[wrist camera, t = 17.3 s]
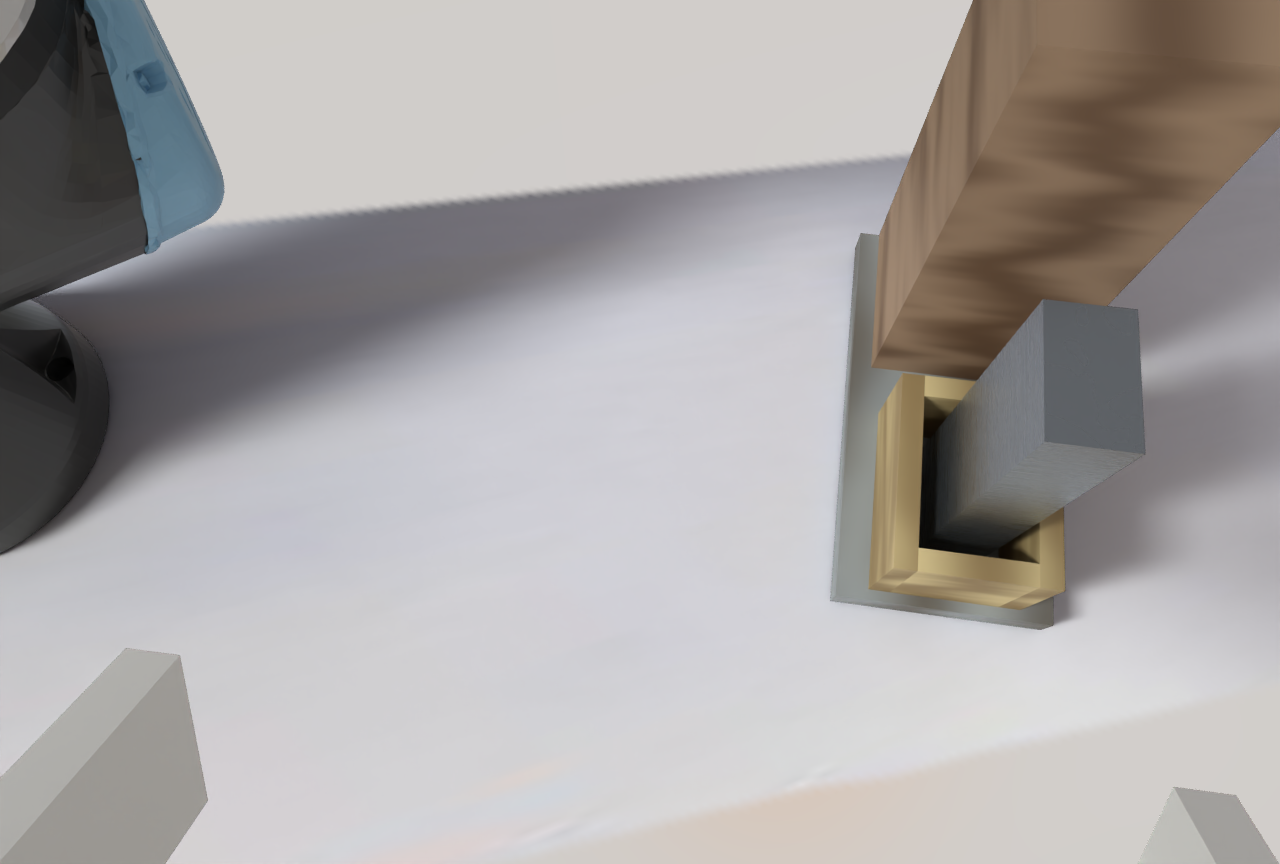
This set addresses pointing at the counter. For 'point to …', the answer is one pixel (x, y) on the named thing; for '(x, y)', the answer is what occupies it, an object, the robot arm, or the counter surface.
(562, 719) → the counter surface
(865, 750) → the counter surface
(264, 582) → the counter surface
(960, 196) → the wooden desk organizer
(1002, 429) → the grey block
